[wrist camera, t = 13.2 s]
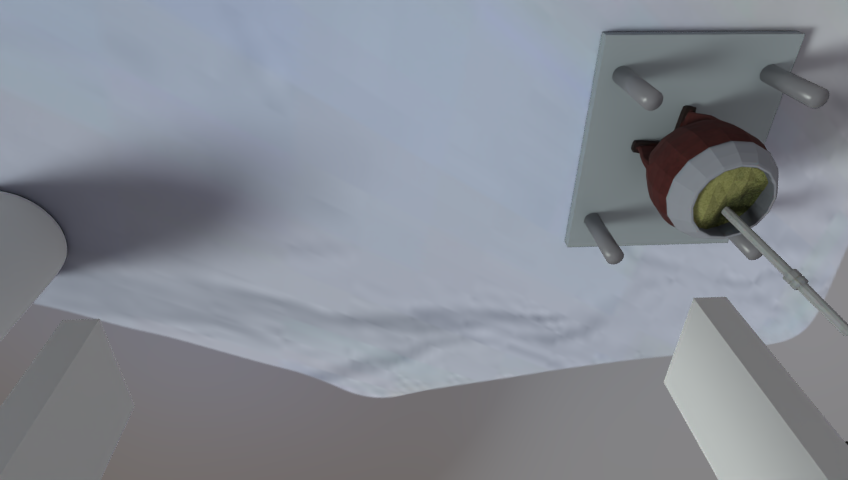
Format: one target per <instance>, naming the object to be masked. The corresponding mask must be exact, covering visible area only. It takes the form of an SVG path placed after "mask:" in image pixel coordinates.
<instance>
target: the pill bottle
mask: <svg viewBox="0 0 848 480" xmlns="http://www.w3.org/2000/svg"><path fill="white" fill-rule="evenodd" d="M66 256H67V243H66V239H65V236H64V234H63V232H62V230H61V228H60V227H59V225H58V224H57V222H56V221H55V220H54V219H53V218H52V217H51V216H50V215H49V214H48V213H47V212H46V211H45V210H43V209H42V208H41V207H39V206H38V205H36V204H35V203H33V202H31V201H29V200H27V199H25V198H23V197H20V196H18V195H15V194H11V193H7V192H2V191H0V342H1V340H2V339H3V338H4V337H5V336H6V334H7V333H8V332H9V331H10V330H11V329H12V327H13V326H14V325H15V324H16V323H17V321H18V320H19V319H20V318H21V317H22V315H23V314H24V313H25V312H26V311H27V310H28V308H29V307H30V306H31V305H32V304H33V303H34V301H35V300H36V299H37V298H38V297H39V295H40V294H41V293H42V292H43V291H44V289H45V288H46V287H47V286H48V285H49V284H50V282H51V281H52V280H53V279H54V278H55V276H56V275H57V274H58V273H59V271H60V269H61V268H62V266H63V265H64V262H65V260H66Z"/></svg>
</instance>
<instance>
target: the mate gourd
mask: <svg viewBox="0 0 848 480" xmlns="http://www.w3.org/2000/svg"><path fill="white" fill-rule="evenodd" d="M696 109H697V108H696V107H693V106H689V105H685V106H683V108H682V110H681V113H680V115H679V118H678V121H677V124H676V126H675V129H674V131H673V132H671V133H670V134H668V135H667V136H665V137H664V138H663V139H662V140H661V141H648V140H634V141H633V143H632V146H631V150H632V152H634V153H639V154H640V158H641V160H642V163H643V165H644V167H645V168H646V180H647V187H648V192H649V196H650V199H651V201H652V203H653V204H654V206H655V207H656V209H657V210H658V212H659V213H660V215H661V216H662V218H663V219H664V220H665V221H666V222H667V223H668V224H670V225H671V226H673V227H675V228H676V229H677V230H679V231H681V232H683V233H685V234H687V235H689V236H691V237H693V238H701V239H726V238H729V237H733V236H737V235H740V234H743V235H744V236H745V237H746V238H747V239H748V240H749V241H750V242H751V243H752V244H753V245H754V246H755V247H756V248H757V249H758V250H759V251H760V252H761V253H762V254H763V255H764V256H765V257H766V258H767V259H768V260H769V261H770V262H771V263H772V264H773V265H774V266H775V267H776V268H777V269H778V270H779V271H780V272H781V273H782V274H783V279H784V280H785V281H786V282H787V283H788V284H790V286H791V287H792V288H793V289H794V290H799V291H800V292H801V293H802V294H803V295H804V296H805V297H806V298H807V299H808V300H809V301H810V302H811V303H812V304H813V305H814V306H815V307H816V308H817V309H818V310H819V311H820V312H821V313H822V314H823V315H824V316H825V317H826V319H828V321H830V323H831V324H832V325H834V327H835V328H837V330H838V331H839V332H840V333H841V334H842V335H843V336H848V324H847V323H846V322H845V321H844V320H843V319H842V318H841V317H840V316H839V315H838V314H837V313H836V312H835V311H834V310H833V309H832V308H831V307H830V306H829V305H828V304H827V303H826V302H825V301H824V300H823V299H822V298H821V297H820V296H819V295H818V294H817V293H816V292H815V291H814V290H813V289H812V288H811V287H810V286H809V285H808V284H807V283H808V280H807V279H806V278H805V277H804V276H802V274H801V273H800V272H799V271H798V270H797V269H792V268H791V267H790V266H789V265H788V264H787V263H786V262H785V261H784V260H783V259H782V258H781V257H780V256H779V255H778V254H777V253H776V252H775V251H773V250H772V249H771V248H770V247H769V246H768V245H767V244H766V243H765V242H764V241H763V240H762V239H761V238H760V237H759V236H758V235H757V234H756V233H755V232H754V231H753V230H752V229H751V228H752V227H754V226H755V225H757V224H758V223H759V222H760V221H761V220H762V219H763V218H764V217H765V216H766V215H767V214H768V213H769V211H770V209H771V207H772V205H773V203H774V201H775V199H776V197H777V191H778V168H777V166H776V164H775V162H774V160H773V158H772V156H771V154H770V152H769V151H767V149H766V148H765V146H764V144H763V143H762V142H761V141H760V140H759V139H758V138H756V137H754V136H753V135H751V134H749V133H748V132H746V131H744V130H743V129H741V128H739V127H737V126H735V125H733V124H731V123H728V122H725V121H722V120H720V119H718V118H716V117H714V116H712V115H707V114H700V113H696Z"/></svg>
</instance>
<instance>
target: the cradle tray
mask: <svg viewBox="0 0 848 480" xmlns="http://www.w3.org/2000/svg"><path fill="white" fill-rule="evenodd" d="M804 36H805V34H804V33H801V32H798V31H730V32H602V35H601V40H600V46H599V52H598V57H597V63H596V68H595V74H594V80H593V85H592V91H591V97H590V102H589V108H588V113H587V119H586V125H585V130H584V136H583V142H582V147H581V153H580V158H579V164H578V170H577V175H576V181H575V187H574V192H573V198H572V203H571V209H570V215H569V220H568V226H567V232H566V237H565V243H566V245H567V247H596V246H598V247H599V249H600V250H601V252H602V254H603V255H604V257H605V259H606V261H607V262H608V263H609V264H617V263H619V262H621V261H622V259H623V257H624V254H623V252H622V250H621V249H620V247H619V246H631V245H666V244H700V243H728V240H729V239H730V240H731V241H732V242H733V243H734V245H735V246H736V247H737V248H738V249H739V250H740V251H741V252H742V253H743V254H744V255H745V256H746V257H747V258H748V259H749V260H756V259H758V258H760V257H761V256H762V255H763V254H762V253H761V252H760V251H759V250H758V249H757V248H756V247H755V246H754V245H753V244H752V243H751V242H750V241H749V240H748V239H747V238H746V237H745V236H744V235H743V234H740V235H737V236H733V237H729V238H726V239H701V238H693V237H691V236H689V235H687V234H685V233H683V232H681V231H679V230H677V229H676V228H675V227H673V226H671V225H670V224H668V223H667V222H666V221H665V220H664V219H663V218H662V216H661V215H660V213H659V212H658V210H657V209H656V207H655V206H654V204H653V203H652V201H651V199H650V196H649V192H648V187H647V180H646V168H645V167H644V165H643V163H642V160H641V158H640V154H639V153H634V152H632V150H631V146H632V143H633V141H634V140H648V141H661V140H662V139H663V138H664V137H665V136H667V135H668V134H670V133H671V132H673V131H674V129H675V126H676V124H677V121H678V118H679V115H680V113H681V110H682V108H683V106H685V105H689V106H693V107H696V108H697V109H696V113H700V114H707V115H712V116H714V117H716V118H718V119H720V120H722V121H725V122H728V123H731V124H733V125H735V126H737V127H739V128H741V129H743V130H744V131H746V132H748V133H749V134H751V135H753V136H754V137H756V138H758V139H759V140H760V141H761V142H762V143H763V144H764V143H765V141H766V138H767V135H768V133H769V130H770V127H771V125H772V122H773V119H774V117H775V114H776V111H777V108H778V106H779V103H780V100H781V98H782V95H783V93H785V94H786V95H788V96H790V97H792V98H794V99H796V100H798V101H799V102H801V103H803V104H805V105H807V106H809V107H811V108H814V109H815V108H819V107H821V106H823V105H824V104H825V103H826V102H827V100H828V98H829V91H828V90H827V89H825V88H822V87H820V86H818V85H816V84H814V83H812V82H810V81H808V80H806V79H804V78H802V77H799V76H797V75H795V74H793V73H791V71H792V68H793V65H794V63H795V60H796V57H797V55H798V52H799V49H800V47H801V44H802V41H803V38H804Z"/></svg>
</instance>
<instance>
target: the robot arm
mask: <svg viewBox="0 0 848 480" xmlns="http://www.w3.org/2000/svg"><path fill="white" fill-rule="evenodd" d="M664 383H665V385H666V387H667V389H668V390H669V392H670V394H671V396H672V398H673V399H674V401H675V403H676V405H677V407H678V409H679V410H680V412H681V414H682V416H683V417H684V419H685V421H686V423H687V425H688V426H689V428H690V430H691V432H692V434H693V435H694V437H695V439H696V441H697V442H698V444H699V446H700V448H701V450H702V451H703V453H704V455H705V457H706V458H707V460H708V462H709V464H710V466H711V468H712V469H713V471H714V473H715V475H716V476H717V478H718V480H848V442H847V441H846V442H845V441H844V440H843V439H842V438H841V437H840V435H839V434H838V433H837V432H836V430H835V429H834V428H833V427H832V426H831V424H830V423H829V422H828V421H827V420H826V418H825V417H824V416H823V415H822V413H821V412H820V411H819V410H818V408H817V407H816V406H815V405H814V404H813V402H812V401H811V400H810V399H809V398H808V397H807V395H806V394H805V393H804V392H803V390H802V389H801V388H800V387H799V385H798V384H797V383H796V382H795V380H794V379H793V378H792V377H791V376H790V374H789V373H788V372H787V371H786V370H785V368H784V367H783V366H782V365H781V363H780V362H779V361H778V360H777V359H776V357H775V356H774V355H773V354H772V352H771V351H770V350H769V349H768V348H767V346H766V345H765V344H764V343H763V341H762V340H761V339H760V338H759V337H758V335H757V334H756V333H755V332H754V331H753V329H752V328H751V327H750V326H749V324H748V323H747V322H746V321H745V320H744V318H743V317H742V316H741V315H740V313H739V312H738V311H737V310H736V309H735V307H734V306H733V305H732V304H731V302H730V301H729V300H728V299H727V298H726V297H711V298H693V301H692V304H691V307H690V310H689V312H688V315H687V318H686V321H685V324H684V326H683V329H682V332H681V335H680V338H679V341H678V343H677V346H676V349H675V352H674V355H673V358H672V361H671V363H670V366H669V369H668V372H667V374H666V377H665V380H664ZM134 407H135V404H134V401H133V399H132V397H131V395H130V392H129V389H128V387H127V385H126V382H125V380H124V377H123V375H122V373H121V370H120V367H119V365H118V363H117V360H116V358H115V355H114V353H113V351H112V348H111V345H110V343H109V341H108V338H107V336H106V334H105V331H104V329H103V326H102V324H101V321H100V319H81V320H62V322H61V323H60V324H59V326H58V327H57V329H56V330H55V331H54V333H53V334H52V336H51V337H50V338H49V340H48V341H47V342H46V344H45V345H44V347H43V348H42V349H41V351H40V352H39V354H38V355H37V356H36V358H35V359H34V361H33V362H32V363H31V365H30V366H29V368H28V369H27V370H26V372H25V373H24V374H23V376H22V377H21V379H20V380H19V381H18V383H17V384H16V386H15V387H14V388H13V390H12V391H11V392H10V394H9V395H8V397H7V398H6V399H5V401H4V402H3V404H2V405H1V406H0V480H101V478H102V476H103V474H104V471H105V469H106V467H107V465H108V463H109V461H110V458H111V456H112V454H113V452H114V450H115V448H116V446H117V443H118V441H119V439H120V437H121V435H122V432H123V431H124V428H125V426H126V424H127V422H128V420H129V418H130V415H131V413H132V411H133V409H134Z"/></svg>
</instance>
